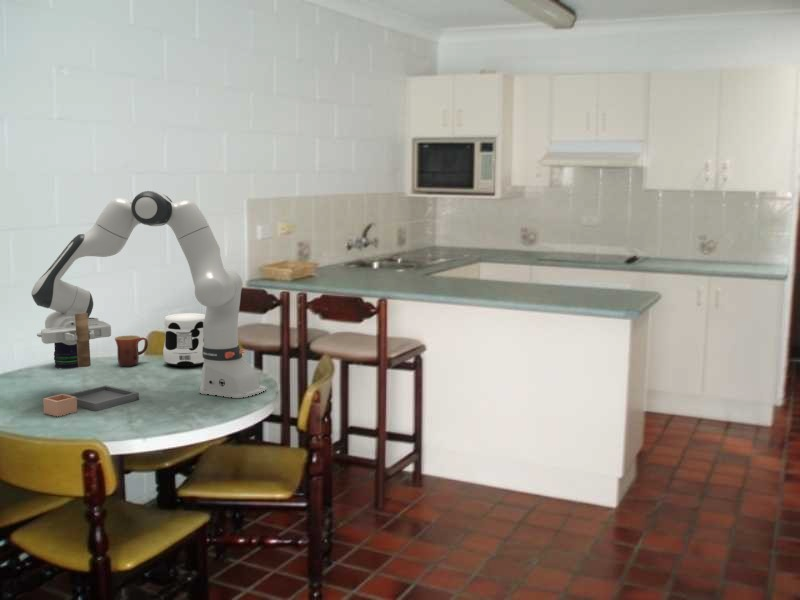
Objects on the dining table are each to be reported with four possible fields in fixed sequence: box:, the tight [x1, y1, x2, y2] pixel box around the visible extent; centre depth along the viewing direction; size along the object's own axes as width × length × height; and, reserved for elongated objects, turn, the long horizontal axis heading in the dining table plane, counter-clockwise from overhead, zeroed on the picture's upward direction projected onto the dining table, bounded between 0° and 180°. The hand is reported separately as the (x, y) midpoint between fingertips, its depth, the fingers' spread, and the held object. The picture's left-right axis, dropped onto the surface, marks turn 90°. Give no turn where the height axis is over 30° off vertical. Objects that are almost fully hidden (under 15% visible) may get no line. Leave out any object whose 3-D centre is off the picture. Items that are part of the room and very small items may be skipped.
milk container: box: [162, 312, 206, 367], centre depth 316 cm, size 17×17×18 cm
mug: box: [114, 335, 149, 367], centre depth 316 cm, size 12×9×10 cm
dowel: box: [75, 313, 92, 368], centre depth 258 cm, size 4×4×16 cm
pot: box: [42, 393, 78, 418], centre depth 253 cm, size 7×7×4 cm
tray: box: [66, 384, 140, 412], centre depth 266 cm, size 16×16×2 cm
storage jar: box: [53, 342, 79, 370], centre depth 312 cm, size 10×10×15 cm
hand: (83, 337), depth 257 cm, fingers closed on dowel, 4 cm apart
